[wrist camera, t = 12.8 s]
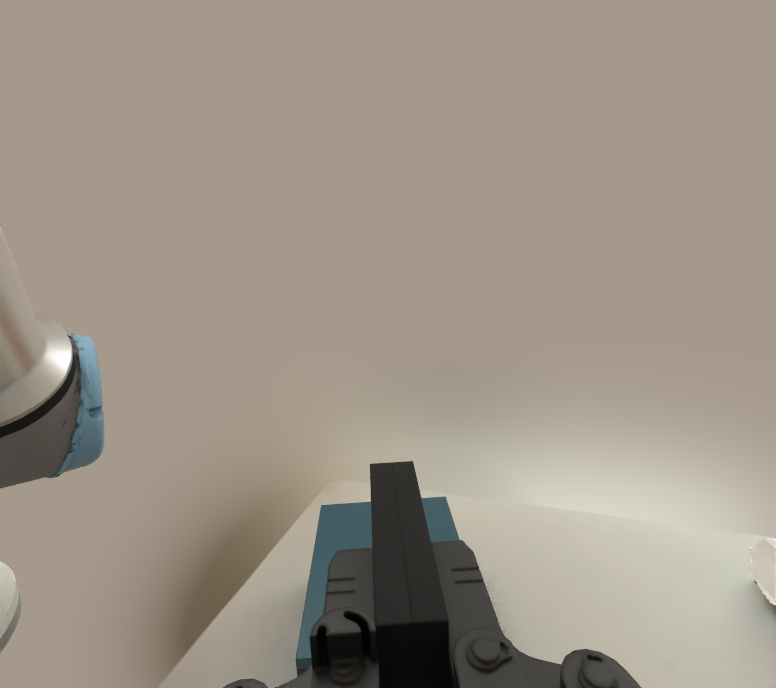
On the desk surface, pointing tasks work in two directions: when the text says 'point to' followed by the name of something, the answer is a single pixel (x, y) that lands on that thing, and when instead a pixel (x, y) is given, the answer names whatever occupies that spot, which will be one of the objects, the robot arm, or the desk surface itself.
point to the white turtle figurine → (764, 567)
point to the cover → (353, 531)
